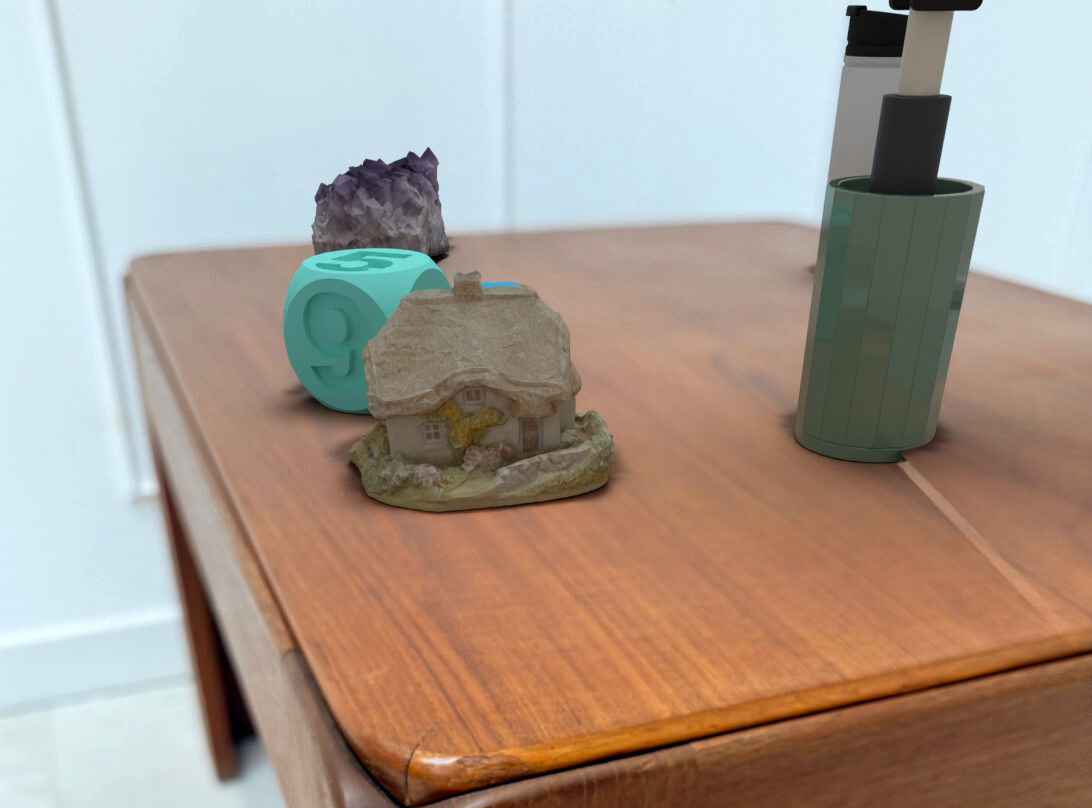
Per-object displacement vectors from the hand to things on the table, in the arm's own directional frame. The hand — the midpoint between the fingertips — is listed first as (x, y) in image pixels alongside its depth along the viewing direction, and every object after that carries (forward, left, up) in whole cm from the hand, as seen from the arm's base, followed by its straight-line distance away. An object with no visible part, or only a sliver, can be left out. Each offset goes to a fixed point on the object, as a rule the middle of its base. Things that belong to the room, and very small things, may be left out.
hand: (933, 6), depth 51 cm
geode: (+29, -54, -21) cm, 65 cm away
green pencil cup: (0, 0, -20) cm, 20 cm away
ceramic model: (+22, +3, -21) cm, 30 cm away
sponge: (+20, -32, -21) cm, 43 cm away
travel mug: (-12, -41, -21) cm, 48 cm away
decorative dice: (+28, -11, -21) cm, 36 cm away
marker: (0, 0, -10) cm, 10 cm away
